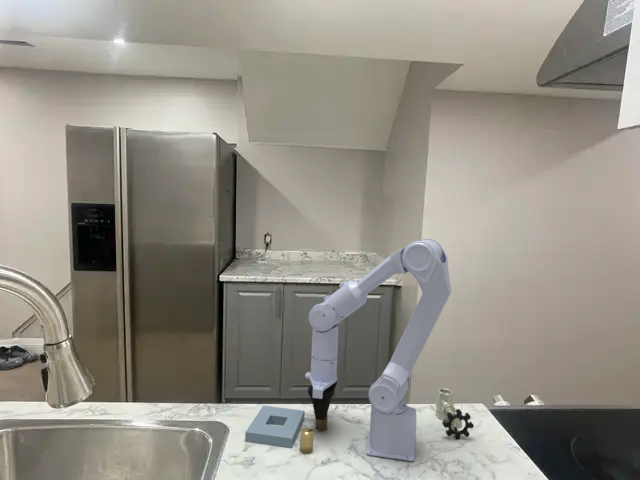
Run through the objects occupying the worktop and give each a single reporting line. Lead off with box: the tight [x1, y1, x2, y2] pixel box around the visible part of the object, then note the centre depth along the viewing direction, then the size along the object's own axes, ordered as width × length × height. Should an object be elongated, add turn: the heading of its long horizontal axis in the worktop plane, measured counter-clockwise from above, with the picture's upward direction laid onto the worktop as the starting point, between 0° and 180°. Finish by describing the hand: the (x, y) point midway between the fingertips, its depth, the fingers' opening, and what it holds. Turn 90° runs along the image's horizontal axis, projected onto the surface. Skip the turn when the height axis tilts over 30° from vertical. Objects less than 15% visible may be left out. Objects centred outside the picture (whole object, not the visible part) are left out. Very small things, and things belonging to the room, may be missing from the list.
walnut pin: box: [314, 410, 329, 432], centre depth 92 cm, size 3×3×8 cm
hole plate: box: [244, 404, 306, 449], centre depth 91 cm, size 10×12×2 cm
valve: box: [435, 387, 474, 441], centre depth 96 cm, size 7×7×12 cm
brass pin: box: [299, 427, 315, 455], centre depth 83 cm, size 3×3×4 cm
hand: (321, 415), depth 92 cm, fingers closed on walnut pin, 3 cm apart
